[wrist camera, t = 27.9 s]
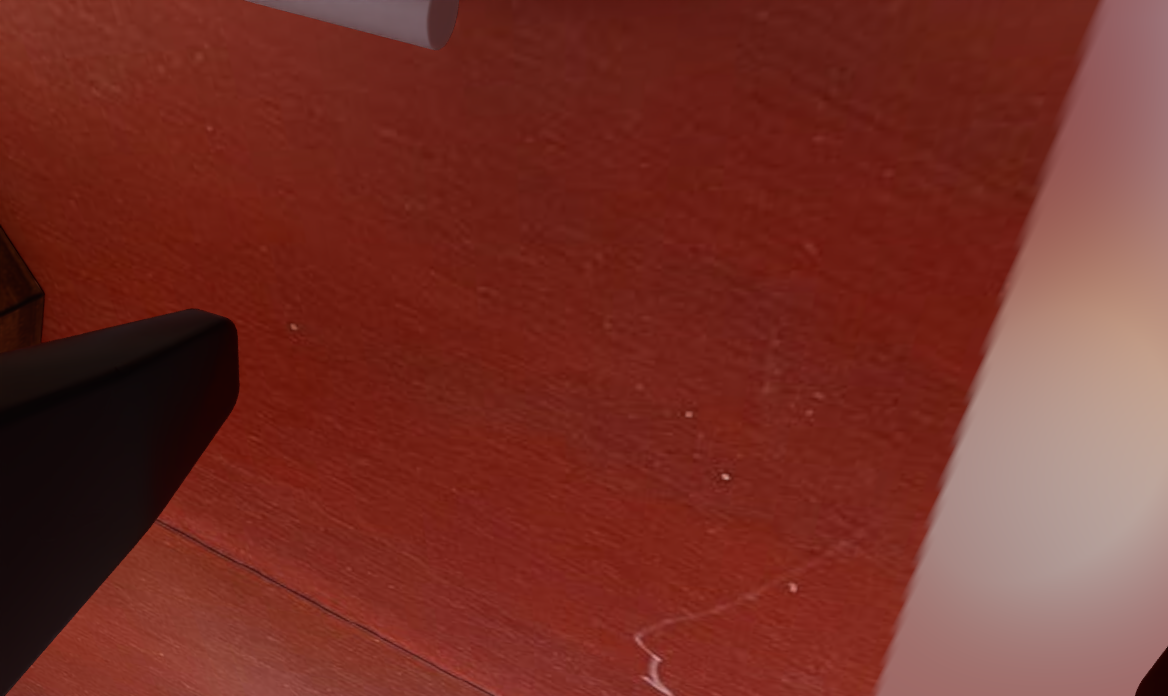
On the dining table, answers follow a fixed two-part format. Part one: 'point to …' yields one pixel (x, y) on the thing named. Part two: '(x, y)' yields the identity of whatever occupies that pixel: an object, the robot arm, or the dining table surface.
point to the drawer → (382, 17)
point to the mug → (18, 301)
